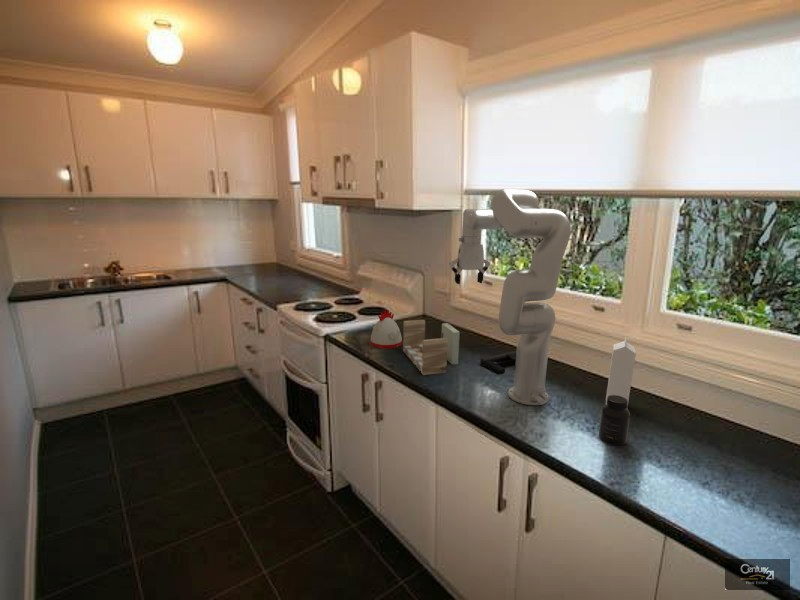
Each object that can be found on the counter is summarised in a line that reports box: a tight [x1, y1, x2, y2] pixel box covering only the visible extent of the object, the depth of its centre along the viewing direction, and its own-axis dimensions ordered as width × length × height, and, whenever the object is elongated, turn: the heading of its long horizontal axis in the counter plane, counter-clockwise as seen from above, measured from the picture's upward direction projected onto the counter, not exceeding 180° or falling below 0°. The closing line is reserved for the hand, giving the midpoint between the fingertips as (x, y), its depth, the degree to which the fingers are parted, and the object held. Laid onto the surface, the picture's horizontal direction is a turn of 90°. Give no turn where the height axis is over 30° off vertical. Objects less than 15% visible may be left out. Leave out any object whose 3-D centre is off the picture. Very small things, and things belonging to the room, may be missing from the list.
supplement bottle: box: [598, 395, 631, 447], centre depth 113 cm, size 7×7×12 cm
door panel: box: [440, 322, 460, 365], centre depth 169 cm, size 12×3×13 cm, turn 16°
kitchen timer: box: [370, 309, 403, 349], centre depth 186 cm, size 14×14×15 cm
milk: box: [605, 336, 637, 408], centre depth 131 cm, size 6×6×22 cm
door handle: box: [479, 350, 517, 374], centre depth 164 cm, size 3×20×16 cm
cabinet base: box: [402, 319, 448, 376], centre depth 166 cm, size 26×9×13 cm, turn 16°
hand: (468, 283), depth 172 cm, fingers open, 9 cm apart
